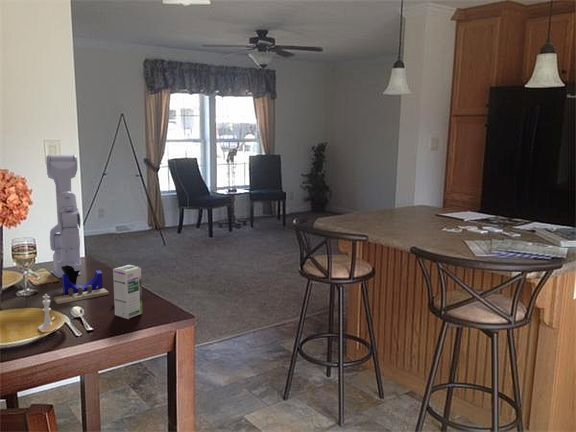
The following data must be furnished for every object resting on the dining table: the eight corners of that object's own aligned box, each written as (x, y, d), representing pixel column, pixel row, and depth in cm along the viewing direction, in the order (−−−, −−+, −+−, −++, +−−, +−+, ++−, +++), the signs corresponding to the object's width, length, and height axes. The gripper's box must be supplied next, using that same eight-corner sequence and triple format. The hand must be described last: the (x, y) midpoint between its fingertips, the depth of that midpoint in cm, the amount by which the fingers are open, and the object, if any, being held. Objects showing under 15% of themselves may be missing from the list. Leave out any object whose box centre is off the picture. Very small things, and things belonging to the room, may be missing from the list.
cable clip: (65, 296, 167) (64, 279, 166) (62, 291, 171) (62, 274, 170) (103, 291, 174) (103, 274, 172) (100, 286, 177) (100, 270, 176)
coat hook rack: (53, 300, 163) (53, 291, 163) (104, 291, 173) (103, 282, 173) (57, 303, 160) (57, 294, 160) (108, 294, 170) (108, 285, 170)
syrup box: (127, 319, 149) (126, 271, 147) (114, 315, 152) (112, 267, 150) (142, 313, 154) (142, 267, 152) (129, 309, 157) (128, 263, 155)
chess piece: (41, 325, 143) (40, 291, 141) (60, 325, 144) (58, 291, 142) (34, 332, 138) (32, 297, 137) (53, 332, 139) (52, 297, 137)
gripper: (51, 244, 174) (53, 283, 177) (64, 253, 163) (66, 294, 166) (72, 242, 179) (74, 279, 181) (87, 250, 168) (88, 290, 170)
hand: (72, 286), depth 174 cm, fingers closed
